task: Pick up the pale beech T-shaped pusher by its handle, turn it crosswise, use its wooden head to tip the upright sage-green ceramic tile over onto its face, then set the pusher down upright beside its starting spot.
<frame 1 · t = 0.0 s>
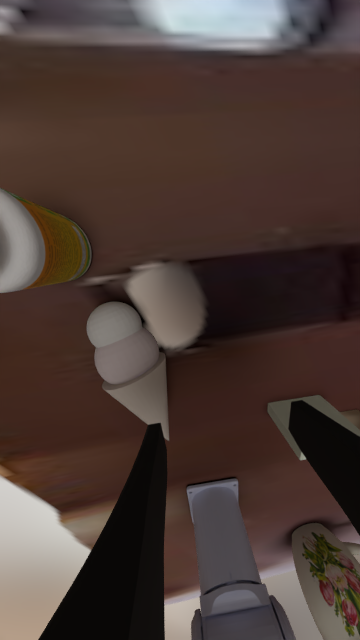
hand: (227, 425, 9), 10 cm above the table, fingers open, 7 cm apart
pusher: (341, 431, 25), on the table
ice cream cone: (144, 357, 19), on the table
pitcher: (311, 529, 34), on the table
tile: (293, 403, 23), on the table
supplement bottle: (62, 249, 15), on the table
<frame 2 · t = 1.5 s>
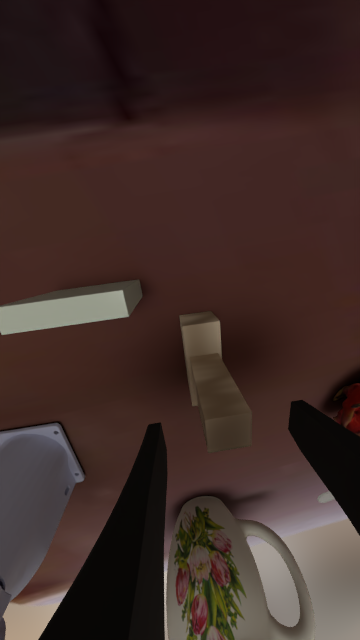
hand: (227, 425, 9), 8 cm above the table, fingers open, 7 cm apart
pusher: (198, 350, 17), on the table
pitcher: (208, 505, 26), on the table
tile: (101, 293, 15), on the table
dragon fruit: (357, 391, 21), on the table
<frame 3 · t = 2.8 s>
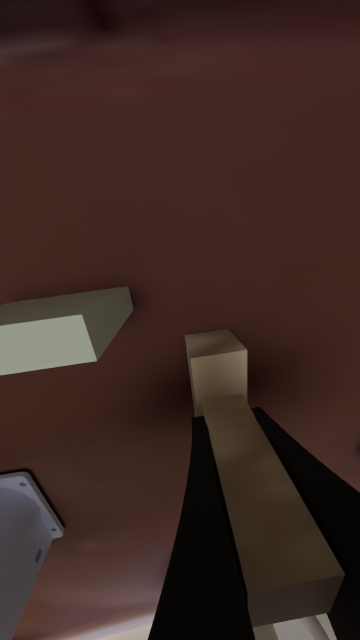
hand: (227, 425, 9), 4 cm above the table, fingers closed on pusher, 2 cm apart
pusher: (210, 380, 13), on the table, touching gripper
pitcher: (216, 553, 22), on the table
tile: (74, 306, 11), on the table
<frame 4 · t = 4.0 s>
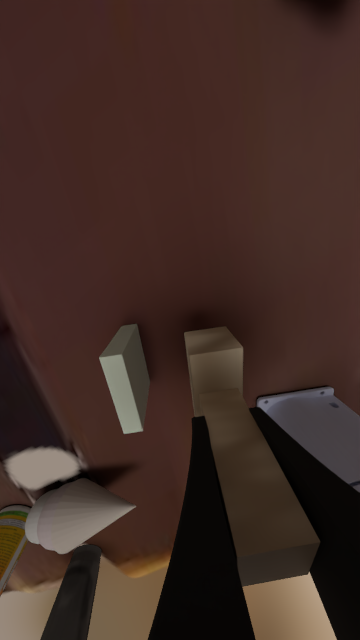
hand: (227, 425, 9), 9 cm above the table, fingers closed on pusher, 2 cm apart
pusher: (208, 374, 14), point 5 cm above the table, touching gripper
ice cream cone: (92, 477, 24), on the table
tile: (136, 355, 18), on the table
beverage cup: (88, 549, 30), on the table
supplement bottle: (20, 513, 25), on the table
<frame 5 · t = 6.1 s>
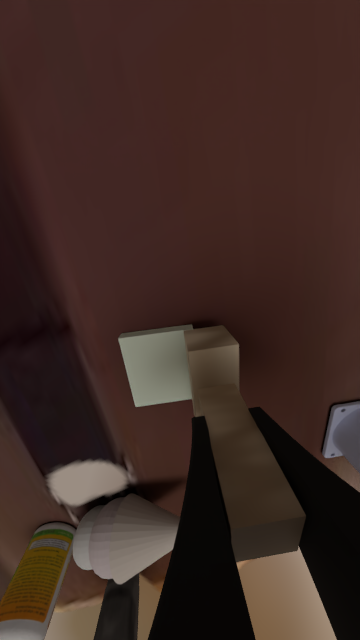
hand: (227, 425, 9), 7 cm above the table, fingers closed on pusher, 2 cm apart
pusher: (207, 372, 14), point 2 cm above the table, touching gripper
ice cream cone: (140, 492, 22), on the table
tile: (195, 361, 16), on the table, tilted 90°
beverage cup: (125, 567, 27), on the table
supplement bottle: (58, 530, 23), on the table
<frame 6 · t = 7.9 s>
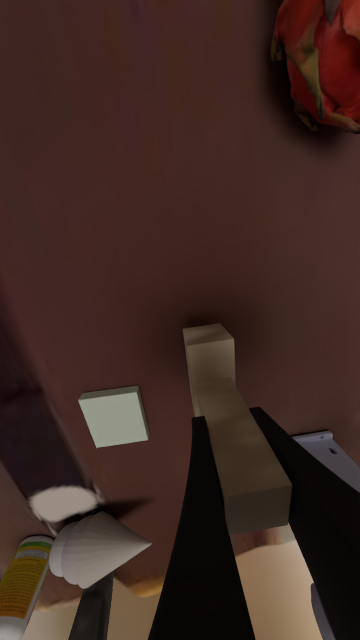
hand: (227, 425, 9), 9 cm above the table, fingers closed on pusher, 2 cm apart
pusher: (205, 369, 15), point 3 cm above the table, touching gripper
ice cream cone: (108, 510, 26), on the table
tile: (143, 411, 20), on the table, tilted 90°
beverage cup: (101, 572, 31), on the table
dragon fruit: (314, 69, 12), on the table
supplement bottle: (41, 541, 27), on the table
when the fingers open (5 cm above the table, at t = 8.8 s): pusher stays where it is, on the table.
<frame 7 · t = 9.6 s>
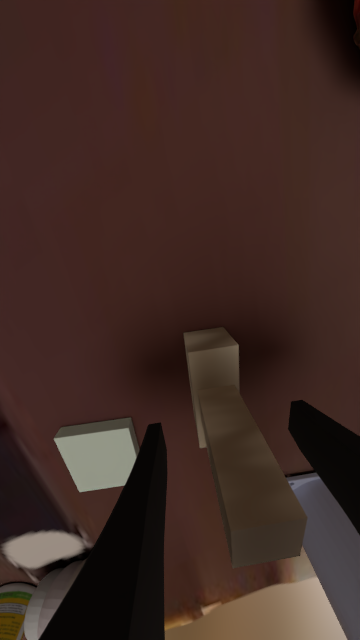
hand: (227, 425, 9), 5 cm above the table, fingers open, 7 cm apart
pusher: (207, 374, 14), on the table
ice cream cone: (98, 553, 22), on the table
tile: (137, 448, 16), on the table, tilted 90°
supplement bottle: (19, 588, 23), on the table
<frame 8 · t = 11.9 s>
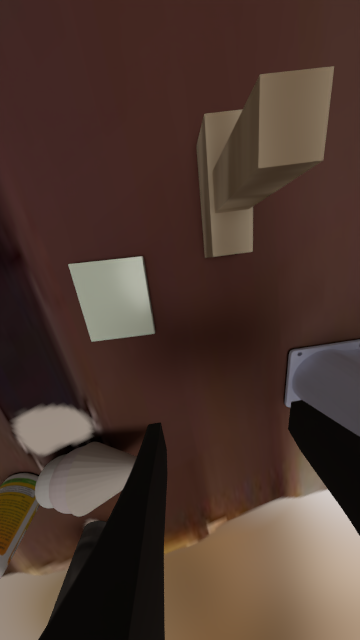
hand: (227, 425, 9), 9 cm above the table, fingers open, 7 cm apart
pusher: (218, 204, 14), on the table
ice cream cone: (106, 442, 22), on the table
tile: (149, 296, 16), on the table, tilted 90°
beverage cup: (99, 527, 28), on the table
supplement bottle: (28, 482, 23), on the table
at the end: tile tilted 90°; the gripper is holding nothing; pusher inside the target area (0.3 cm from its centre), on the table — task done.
